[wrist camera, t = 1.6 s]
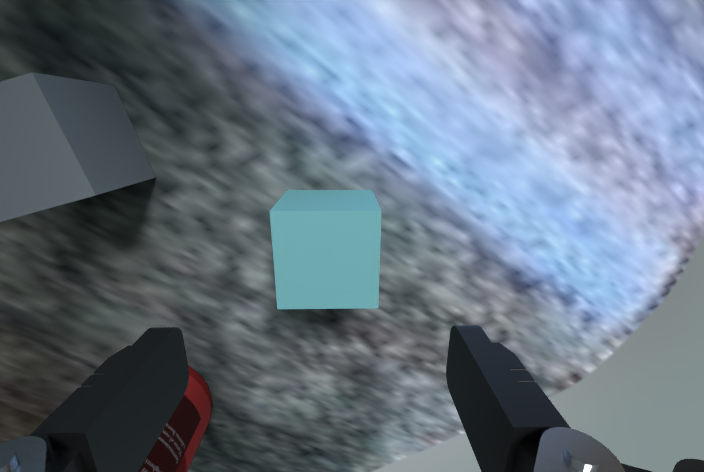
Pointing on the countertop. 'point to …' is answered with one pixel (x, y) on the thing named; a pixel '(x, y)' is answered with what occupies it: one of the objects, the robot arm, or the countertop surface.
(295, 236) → the teal block
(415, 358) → the countertop surface
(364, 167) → the countertop surface
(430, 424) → the countertop surface
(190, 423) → the canned food
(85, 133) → the slate block
